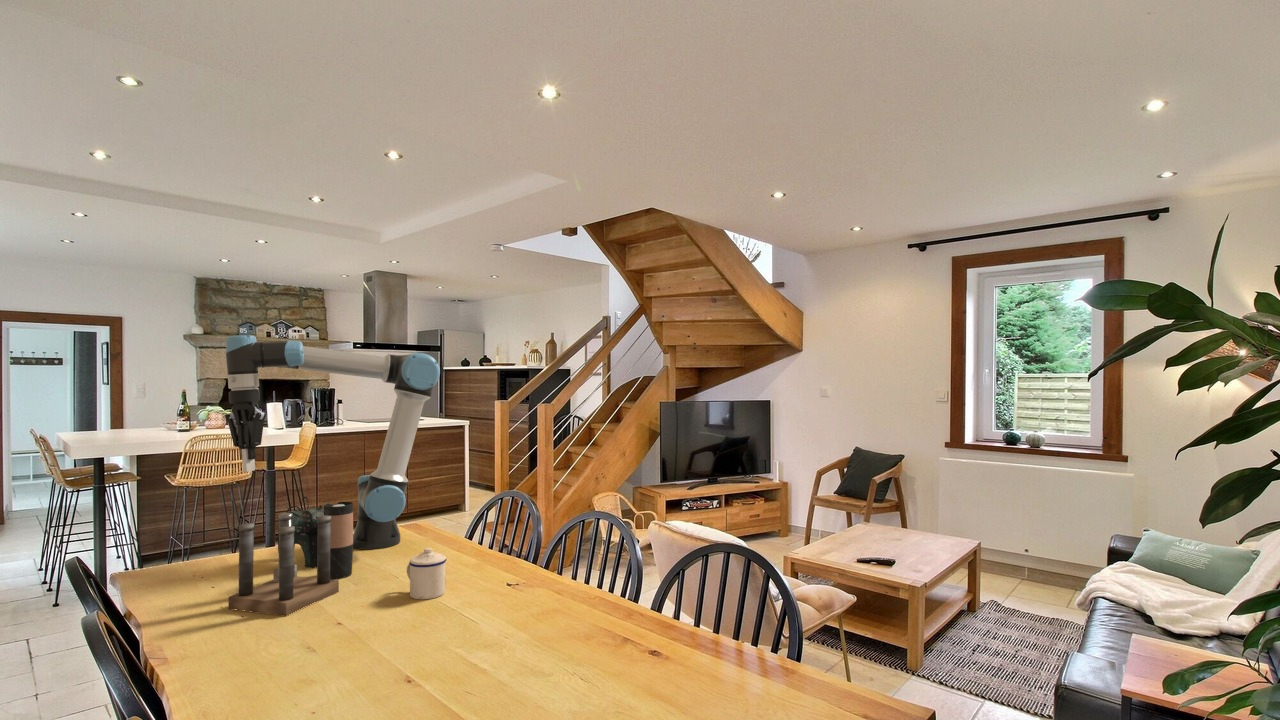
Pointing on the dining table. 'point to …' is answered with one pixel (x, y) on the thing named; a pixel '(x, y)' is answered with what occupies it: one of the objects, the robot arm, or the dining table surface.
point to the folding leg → (285, 521)
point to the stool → (283, 574)
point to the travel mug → (340, 539)
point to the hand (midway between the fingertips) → (249, 470)
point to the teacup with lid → (427, 575)
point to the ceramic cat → (306, 532)
